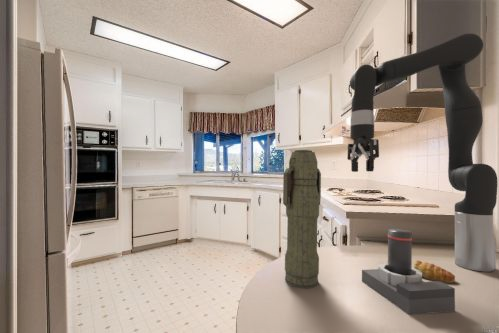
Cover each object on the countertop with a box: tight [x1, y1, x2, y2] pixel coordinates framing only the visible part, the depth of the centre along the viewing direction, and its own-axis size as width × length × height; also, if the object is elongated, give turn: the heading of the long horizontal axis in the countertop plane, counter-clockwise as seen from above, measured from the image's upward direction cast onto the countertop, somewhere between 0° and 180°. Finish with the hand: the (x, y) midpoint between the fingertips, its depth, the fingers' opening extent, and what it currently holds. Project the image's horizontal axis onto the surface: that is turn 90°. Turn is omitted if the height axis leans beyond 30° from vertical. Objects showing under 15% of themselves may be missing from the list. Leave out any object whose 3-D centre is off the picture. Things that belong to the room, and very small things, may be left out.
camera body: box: [361, 262, 456, 315], centre depth 59 cm, size 11×16×6 cm
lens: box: [387, 228, 413, 275], centre depth 60 cm, size 5×5×12 cm
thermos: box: [282, 149, 322, 289], centre depth 66 cm, size 9×12×35 cm
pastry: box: [413, 260, 456, 284], centre depth 70 cm, size 9×7×4 cm
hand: (361, 171), depth 85 cm, fingers open, 8 cm apart
